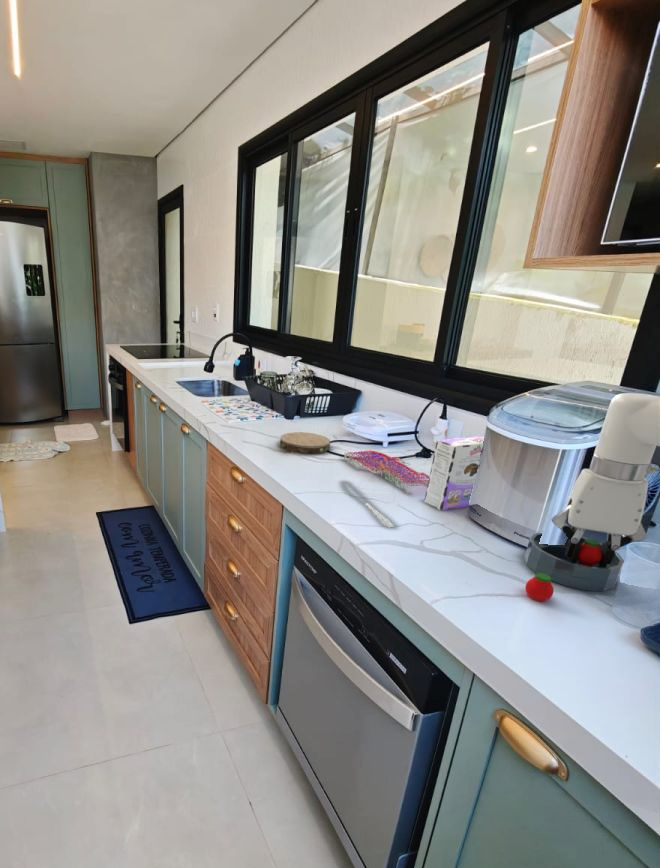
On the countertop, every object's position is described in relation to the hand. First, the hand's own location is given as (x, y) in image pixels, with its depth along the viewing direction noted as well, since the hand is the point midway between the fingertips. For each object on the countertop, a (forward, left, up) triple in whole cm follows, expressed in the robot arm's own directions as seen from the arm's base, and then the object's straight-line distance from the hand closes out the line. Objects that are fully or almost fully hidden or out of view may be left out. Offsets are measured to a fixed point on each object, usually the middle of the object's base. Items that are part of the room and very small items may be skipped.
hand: (585, 562), depth 91 cm
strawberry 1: (+9, +11, -3) cm, 15 cm away
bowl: (+2, -2, -3) cm, 4 cm away
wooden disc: (+65, -57, -4) cm, 86 cm away
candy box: (+21, -28, -4) cm, 35 cm away
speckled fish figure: (+37, -42, -4) cm, 56 cm away
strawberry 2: (0, 0, 0) cm, 0 cm away
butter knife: (+41, -17, -3) cm, 44 cm away
